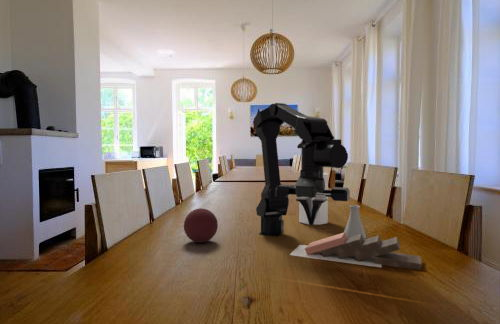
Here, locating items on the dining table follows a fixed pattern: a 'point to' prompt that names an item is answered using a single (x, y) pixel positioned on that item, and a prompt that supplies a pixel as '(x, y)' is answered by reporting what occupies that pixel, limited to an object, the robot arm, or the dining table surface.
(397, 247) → the domino
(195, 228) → the decorative ball
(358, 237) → the domino
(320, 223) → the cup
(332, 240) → the domino
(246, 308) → the dining table surface
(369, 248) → the domino
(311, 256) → the runner
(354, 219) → the flask
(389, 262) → the domino
